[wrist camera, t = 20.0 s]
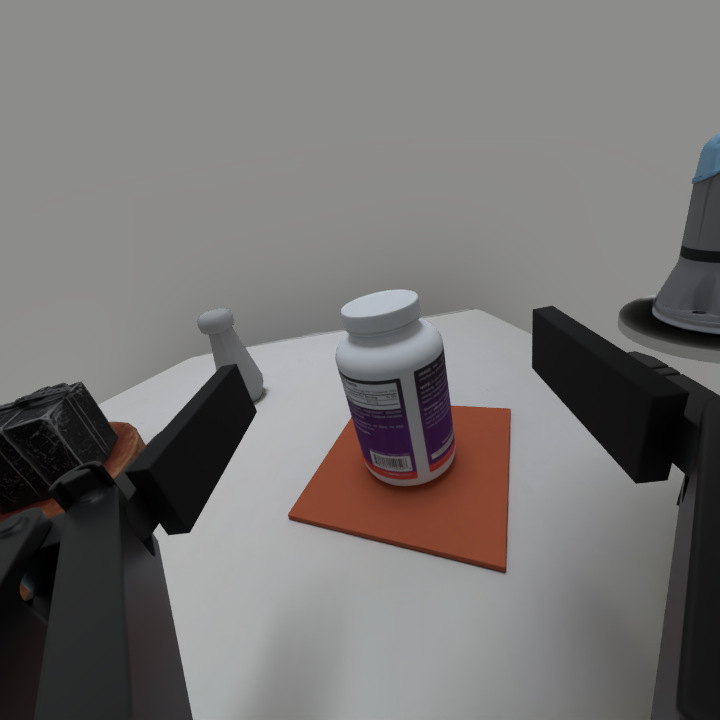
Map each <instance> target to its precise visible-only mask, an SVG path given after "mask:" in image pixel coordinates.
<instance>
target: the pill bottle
mask: <svg viewBox="0 0 720 720" xmlns="http://www.w3.org/2000/svg"><path fill="white" fill-rule="evenodd" d="M341 315H342V319H343V324H344V327H345V329H346V331H347V333H348V334H347V335H346V336H345V337H344V338H343V339H342V340H341V342H340V343H339V345H338V347H337V350H336V363H337V367H338V370H339V374H340V377H341V380H342V384H343V387H344V391H345V394H346V398H347V401H348V405H349V408H350V412H351V416H352V419H353V423H354V426H355V430H356V433H357V437H358V440H359V444H360V448H361V451H362V455H363V458H364V461H365V464H366V466H367V467H368V469H369V470H370V472H371V473H372V474H373V475H374V476H376V477H377V478H378V479H380V480H382V481H384V482H386V483H389V484H392V485H396V486H415V485H420V484H423V483H426V482H429V481H431V480H433V479H435V478H437V477H438V476H440V475H441V474H442V473H443V472H445V471H446V469H447V468H448V467H449V466H450V464H451V463H452V461H453V458H454V455H455V448H456V446H455V436H454V428H453V421H452V412H451V405H450V397H449V389H448V381H447V373H446V365H445V355H444V347H443V340H442V336H441V334H440V332H439V331H438V329H437V328H436V327H435V326H434V325H432V324H431V323H429V322H427V321H425V320H422V319H419V318H420V316H421V315H420V305H419V299H418V295H417V294H416V293H415V292H413V291H409V290H388V291H383V292H377V293H373V294H369V295H366V296H363V297H360V298H357V299H355V300H353V301H351V302H349V303H348V304H346V305H345V306H344V307H343V308H342V310H341Z"/></svg>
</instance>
